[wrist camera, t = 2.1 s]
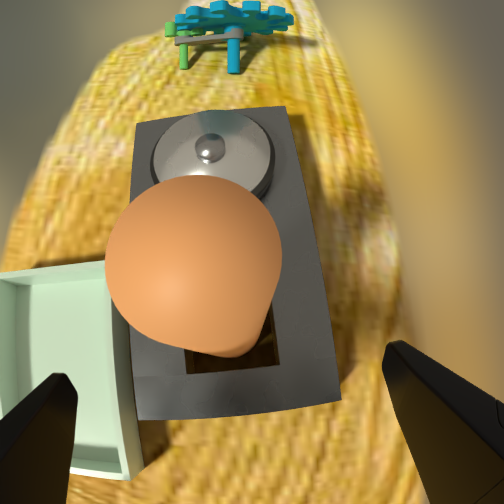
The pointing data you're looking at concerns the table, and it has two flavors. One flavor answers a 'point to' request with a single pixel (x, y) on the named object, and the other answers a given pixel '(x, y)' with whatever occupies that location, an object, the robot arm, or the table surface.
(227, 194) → the pin
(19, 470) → the robot arm
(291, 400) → the plate
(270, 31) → the gear
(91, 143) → the table surface
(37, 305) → the tray
